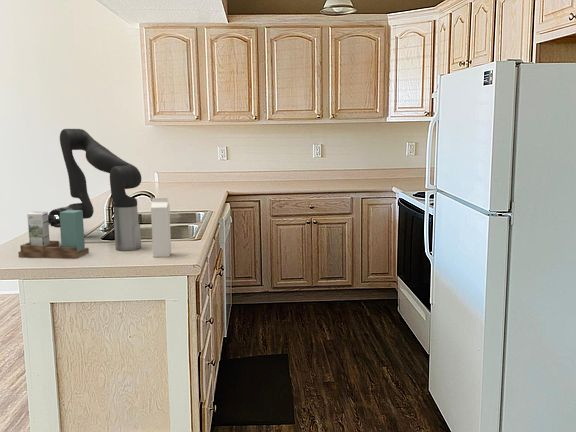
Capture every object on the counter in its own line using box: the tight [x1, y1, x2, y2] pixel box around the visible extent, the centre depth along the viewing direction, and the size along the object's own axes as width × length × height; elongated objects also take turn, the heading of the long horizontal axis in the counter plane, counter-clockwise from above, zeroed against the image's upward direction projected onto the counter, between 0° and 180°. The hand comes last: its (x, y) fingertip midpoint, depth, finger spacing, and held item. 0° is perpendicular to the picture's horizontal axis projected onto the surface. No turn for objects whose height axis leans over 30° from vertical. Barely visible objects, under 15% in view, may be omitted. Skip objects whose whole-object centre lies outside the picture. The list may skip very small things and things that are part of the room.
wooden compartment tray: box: [18, 240, 90, 260], centre depth 220 cm, size 23×10×4 cm, turn 83°
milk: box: [150, 197, 172, 258], centre depth 218 cm, size 6×6×22 cm
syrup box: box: [26, 211, 51, 245], centre depth 220 cm, size 6×6×14 cm
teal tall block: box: [59, 210, 86, 252], centre depth 218 cm, size 7×6×15 cm
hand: (40, 223), depth 221 cm, fingers open, 8 cm apart
